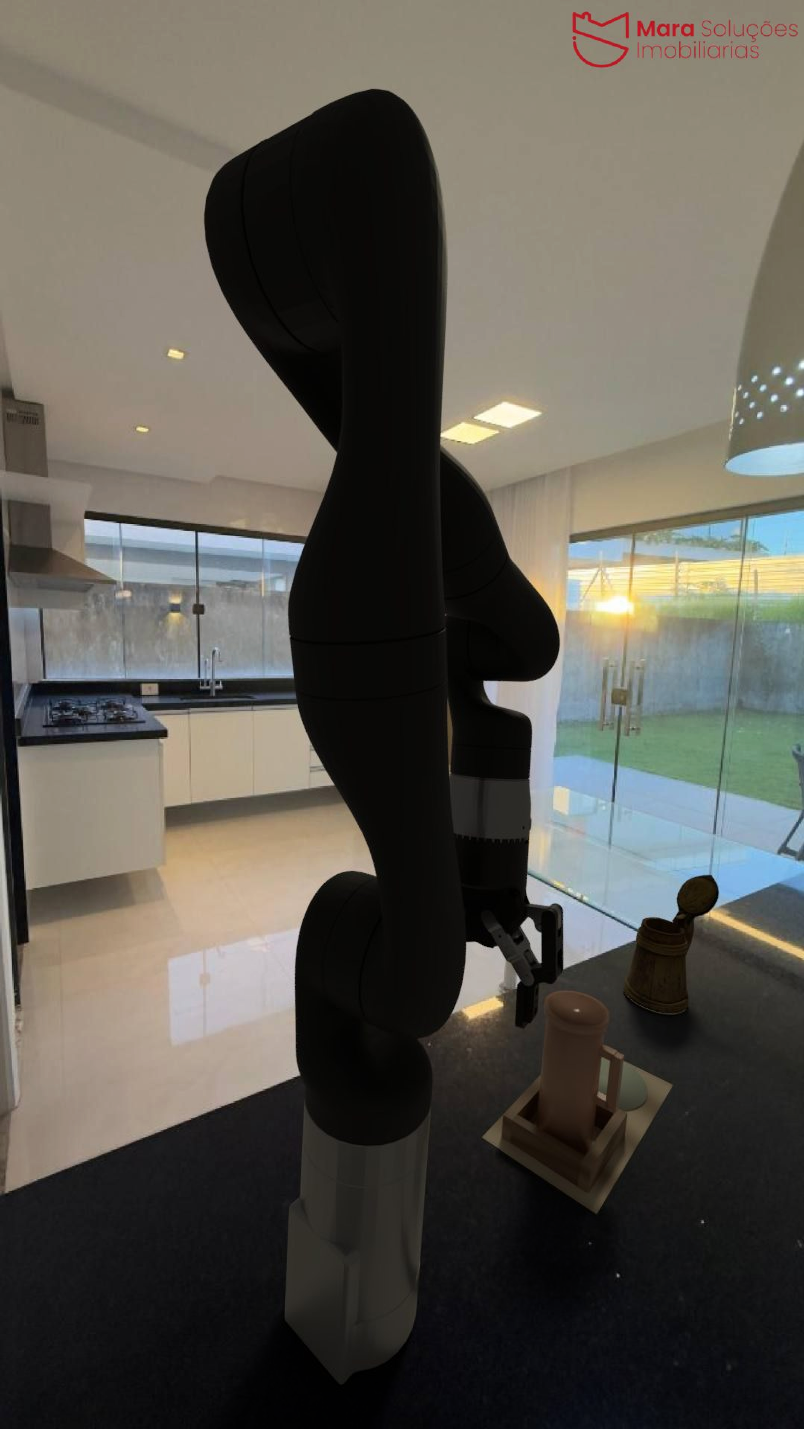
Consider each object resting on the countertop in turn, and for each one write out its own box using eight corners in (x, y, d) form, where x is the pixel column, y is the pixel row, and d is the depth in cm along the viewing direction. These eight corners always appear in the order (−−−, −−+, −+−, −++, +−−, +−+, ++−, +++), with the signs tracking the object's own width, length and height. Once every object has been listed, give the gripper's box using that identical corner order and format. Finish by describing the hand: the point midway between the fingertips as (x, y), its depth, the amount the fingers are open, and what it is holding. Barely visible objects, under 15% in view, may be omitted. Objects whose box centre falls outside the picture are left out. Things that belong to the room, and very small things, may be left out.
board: (595, 1223, 54) (599, 1188, 54) (481, 1146, 62) (483, 1114, 61) (672, 1092, 71) (675, 1065, 70) (574, 1044, 78) (577, 1019, 78)
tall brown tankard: (597, 1185, 57) (613, 1046, 55) (521, 1136, 62) (533, 1008, 60) (622, 1145, 62) (637, 1016, 60) (549, 1103, 67) (561, 983, 65)
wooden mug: (724, 1002, 90) (739, 886, 88) (656, 1021, 84) (671, 897, 82) (674, 971, 98) (687, 864, 96) (610, 987, 92) (622, 873, 90)
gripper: (395, 821, 54) (385, 1004, 54) (555, 845, 47) (543, 1055, 47) (433, 812, 61) (423, 975, 61) (577, 832, 54) (567, 1016, 54)
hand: (476, 1010), depth 54 cm, fingers open, 8 cm apart
